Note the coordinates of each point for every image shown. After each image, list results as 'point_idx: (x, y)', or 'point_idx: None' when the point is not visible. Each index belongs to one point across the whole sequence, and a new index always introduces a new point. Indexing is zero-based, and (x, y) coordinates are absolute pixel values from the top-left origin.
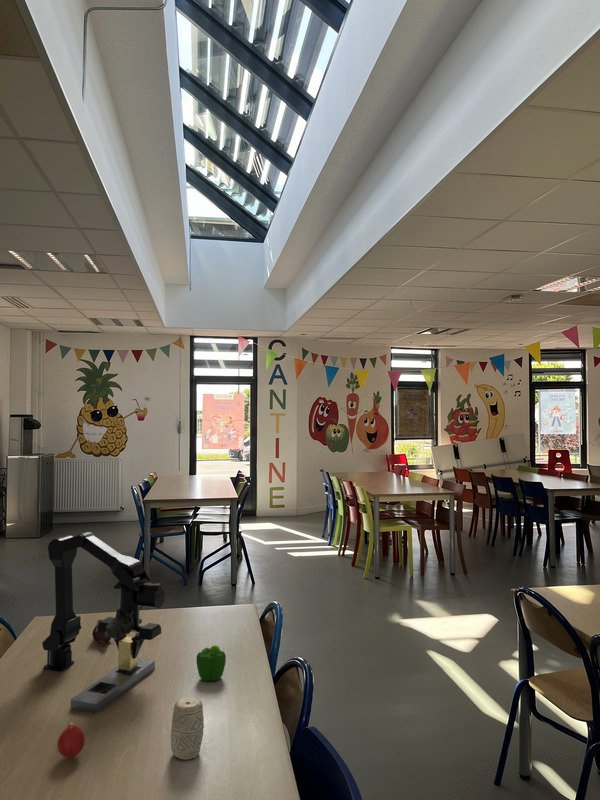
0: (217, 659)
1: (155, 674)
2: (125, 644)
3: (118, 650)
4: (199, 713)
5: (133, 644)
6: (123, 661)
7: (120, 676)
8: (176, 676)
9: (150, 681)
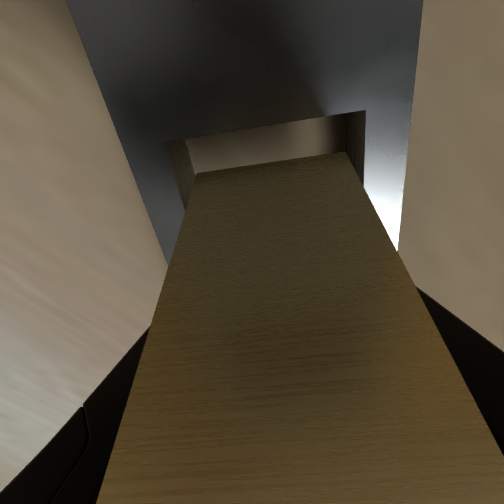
0: None
1: (154, 290)
2: (262, 450)
3: (449, 312)
4: None
5: (89, 492)
6: (283, 204)
7: (234, 60)
8: (34, 318)
9: (94, 214)
